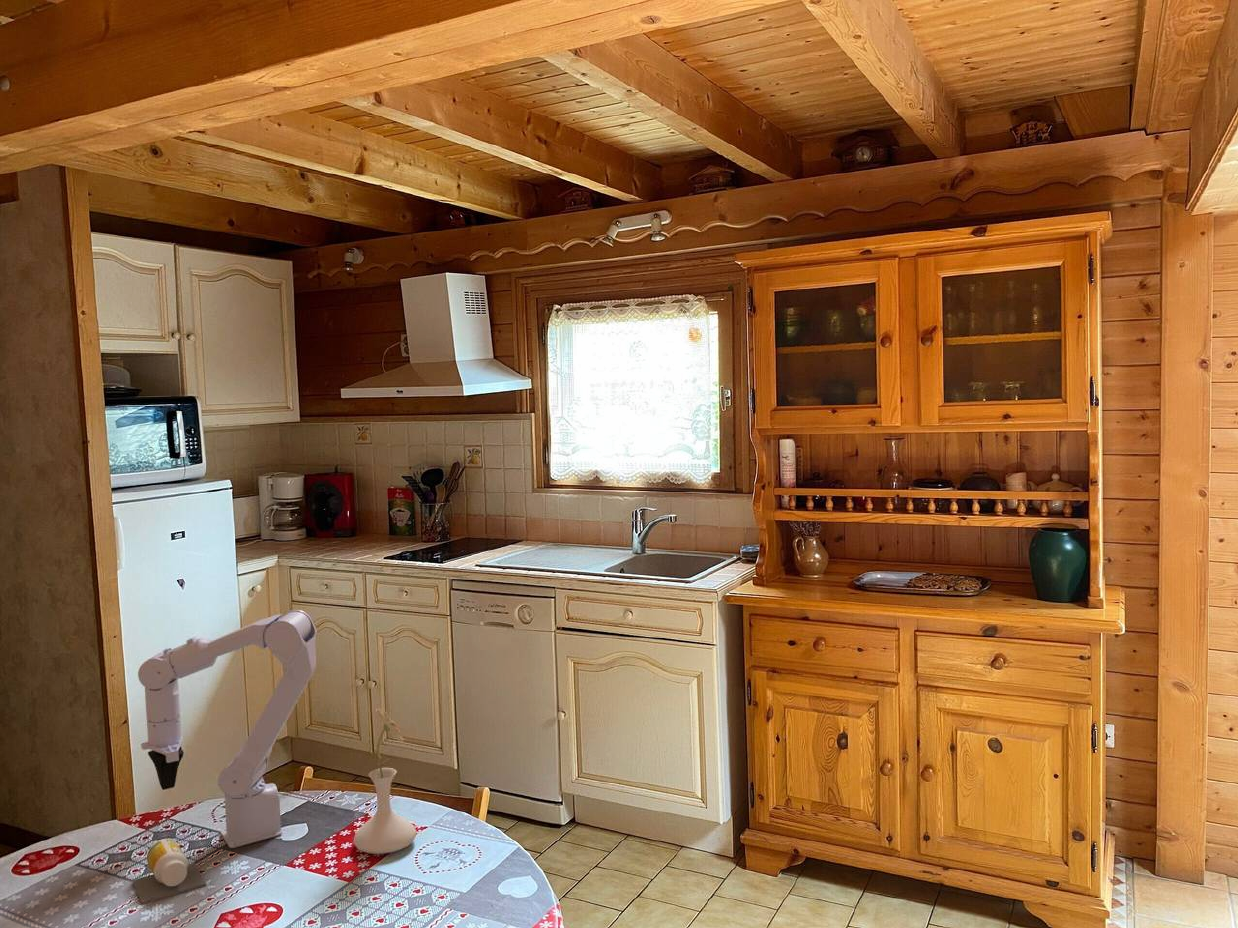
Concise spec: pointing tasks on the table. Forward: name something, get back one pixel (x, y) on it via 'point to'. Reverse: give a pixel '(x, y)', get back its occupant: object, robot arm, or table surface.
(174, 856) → the supplement bottle
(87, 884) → the table surface
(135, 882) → the mat
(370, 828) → the flower in vase
